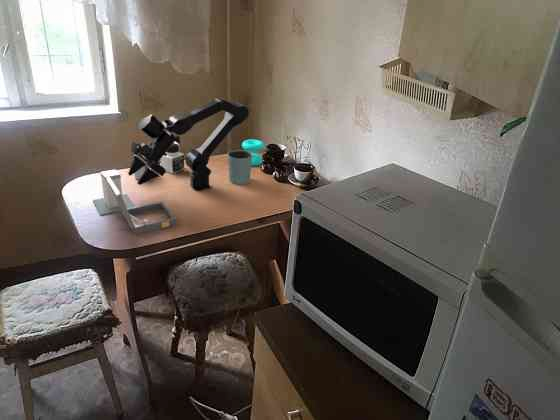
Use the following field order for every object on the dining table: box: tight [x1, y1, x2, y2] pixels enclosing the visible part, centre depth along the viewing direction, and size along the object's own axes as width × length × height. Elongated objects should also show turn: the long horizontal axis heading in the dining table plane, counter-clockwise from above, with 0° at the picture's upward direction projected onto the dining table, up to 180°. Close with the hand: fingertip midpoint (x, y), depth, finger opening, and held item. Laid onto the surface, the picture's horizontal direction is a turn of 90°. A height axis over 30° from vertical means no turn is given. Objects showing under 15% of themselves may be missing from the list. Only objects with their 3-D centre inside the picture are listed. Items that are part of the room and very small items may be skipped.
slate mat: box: [92, 193, 136, 217], centre depth 155 cm, size 12×12×1 cm
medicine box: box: [133, 161, 149, 180], centre depth 177 cm, size 8×4×9 cm, turn 169°
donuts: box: [241, 139, 265, 167], centre depth 198 cm, size 10×10×10 cm
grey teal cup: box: [227, 149, 253, 186], centre depth 178 cm, size 10×10×12 cm
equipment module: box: [99, 169, 123, 208], centre depth 152 cm, size 5×5×12 cm
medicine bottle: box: [160, 141, 185, 174], centre depth 184 cm, size 7×7×12 cm
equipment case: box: [106, 177, 178, 235], centre depth 143 cm, size 18×15×15 cm
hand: (133, 179), depth 156 cm, fingers open, 9 cm apart
